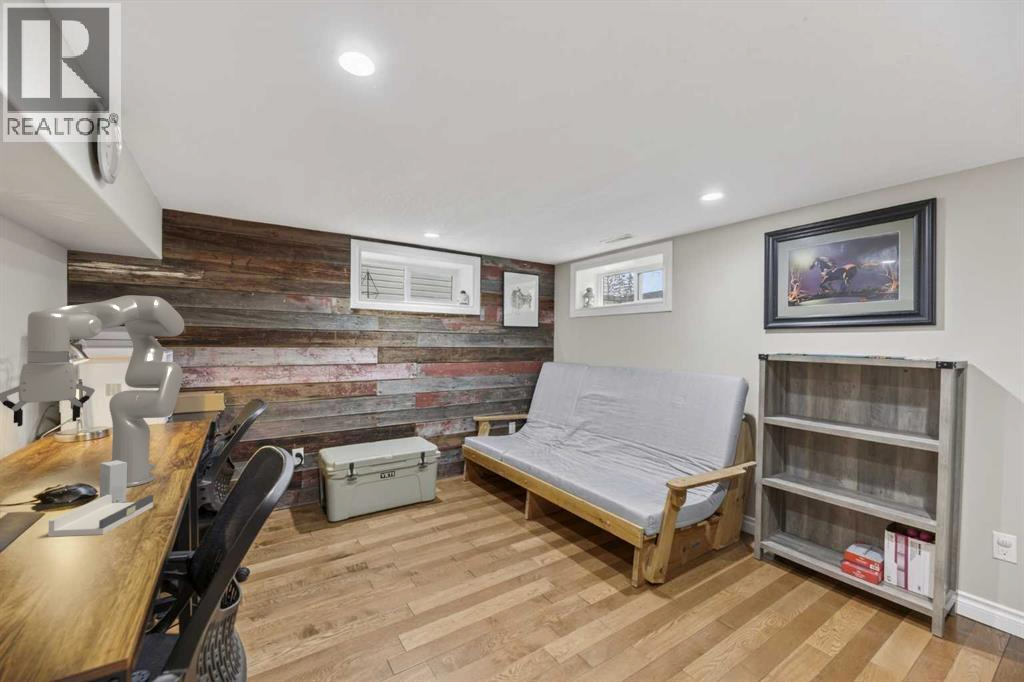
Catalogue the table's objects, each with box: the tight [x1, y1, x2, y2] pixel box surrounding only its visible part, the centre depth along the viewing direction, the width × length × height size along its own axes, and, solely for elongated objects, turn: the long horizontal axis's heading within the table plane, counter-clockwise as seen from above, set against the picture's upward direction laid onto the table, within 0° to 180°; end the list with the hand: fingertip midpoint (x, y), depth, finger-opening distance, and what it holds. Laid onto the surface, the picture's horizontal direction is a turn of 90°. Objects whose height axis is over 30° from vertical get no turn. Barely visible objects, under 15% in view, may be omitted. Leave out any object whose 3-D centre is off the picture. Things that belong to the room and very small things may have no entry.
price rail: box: [99, 494, 154, 529], centre depth 114 cm, size 18×1×2 cm, turn 9°
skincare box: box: [99, 460, 128, 503], centre depth 126 cm, size 6×4×12 cm
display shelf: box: [47, 495, 154, 538], centre depth 114 cm, size 18×12×4 cm, turn 9°
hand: (48, 423), depth 110 cm, fingers open, 9 cm apart
